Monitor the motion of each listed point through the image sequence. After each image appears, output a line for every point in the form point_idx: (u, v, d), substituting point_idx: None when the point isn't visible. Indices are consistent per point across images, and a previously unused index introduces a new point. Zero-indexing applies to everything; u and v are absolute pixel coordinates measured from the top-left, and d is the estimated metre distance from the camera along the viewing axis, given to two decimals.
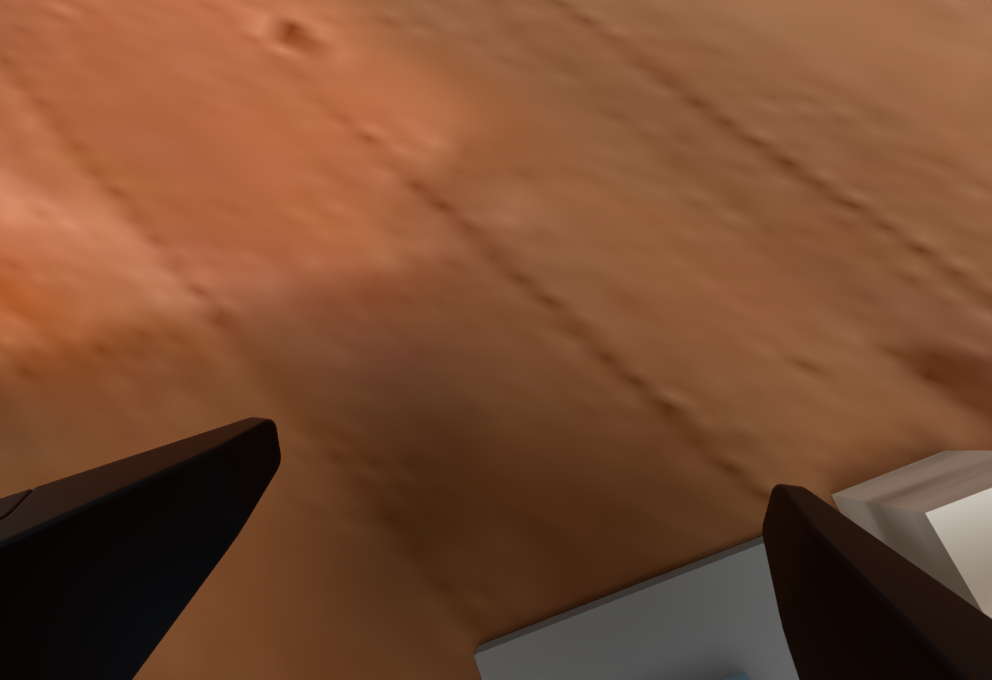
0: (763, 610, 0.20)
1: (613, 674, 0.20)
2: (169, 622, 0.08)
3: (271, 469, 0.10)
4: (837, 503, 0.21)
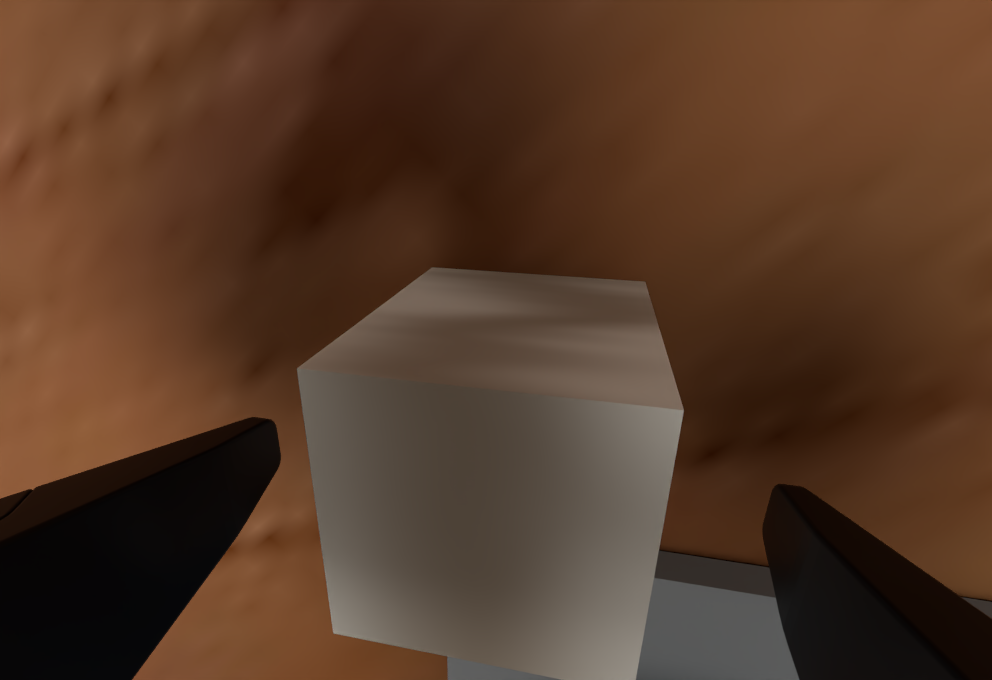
0: None
1: None
2: (169, 622, 0.08)
3: (271, 469, 0.10)
4: None
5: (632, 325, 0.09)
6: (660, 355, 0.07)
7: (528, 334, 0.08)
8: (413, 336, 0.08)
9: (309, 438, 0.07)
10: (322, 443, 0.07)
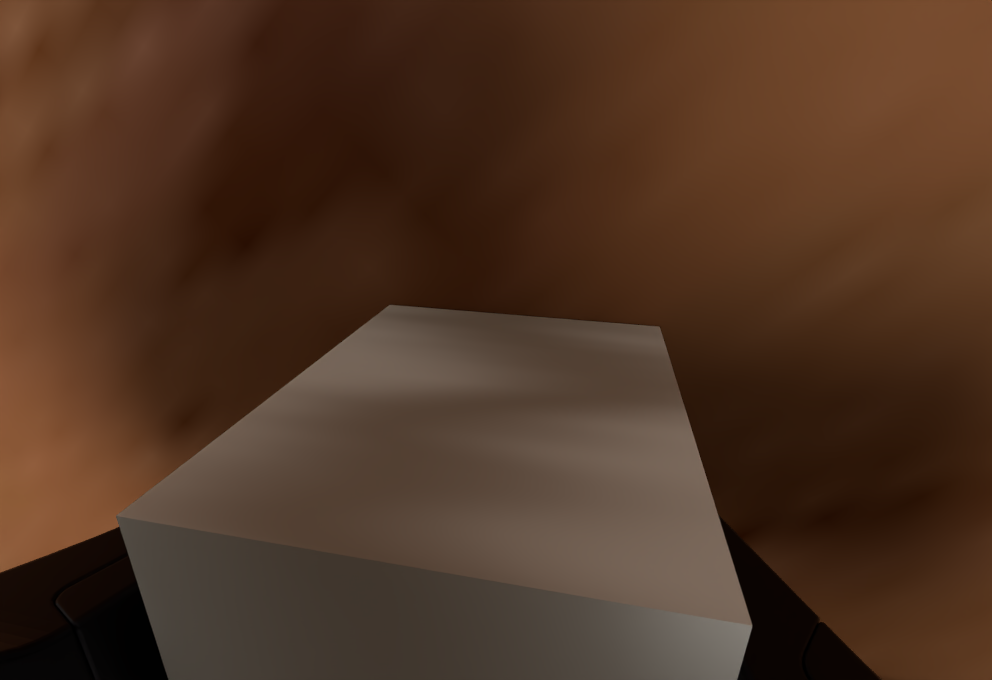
0: None
1: None
2: None
3: None
4: None
5: (648, 410, 0.06)
6: (696, 475, 0.05)
7: (497, 431, 0.06)
8: (326, 437, 0.05)
9: (150, 614, 0.05)
10: (171, 621, 0.05)
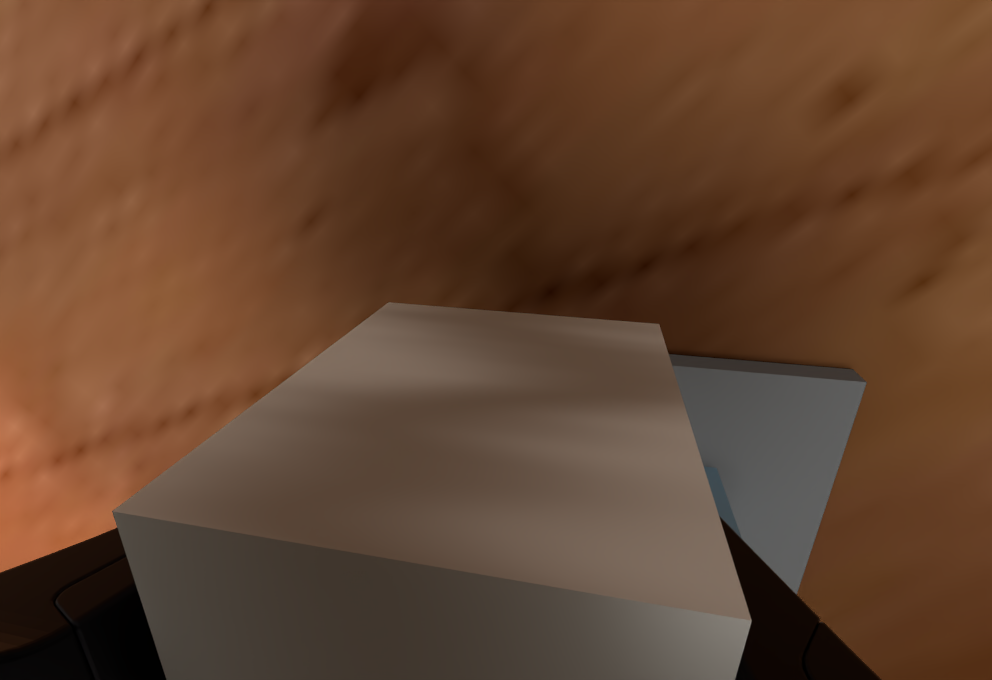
0: None
1: None
2: None
3: None
4: None
5: (648, 405, 0.06)
6: (694, 472, 0.05)
7: (496, 427, 0.06)
8: (324, 433, 0.05)
9: (146, 610, 0.05)
10: (167, 617, 0.05)
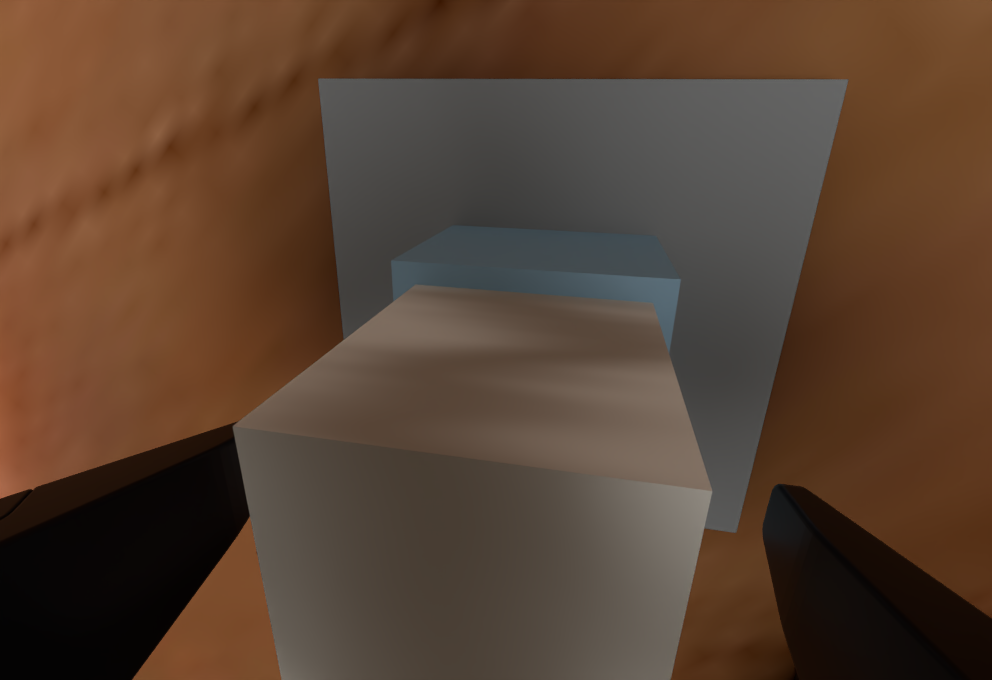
0: (396, 166, 0.15)
1: None
2: (169, 622, 0.08)
3: None
4: None
5: (641, 362, 0.07)
6: (678, 405, 0.06)
7: (519, 375, 0.07)
8: (381, 378, 0.07)
9: (251, 507, 0.06)
10: (267, 513, 0.06)
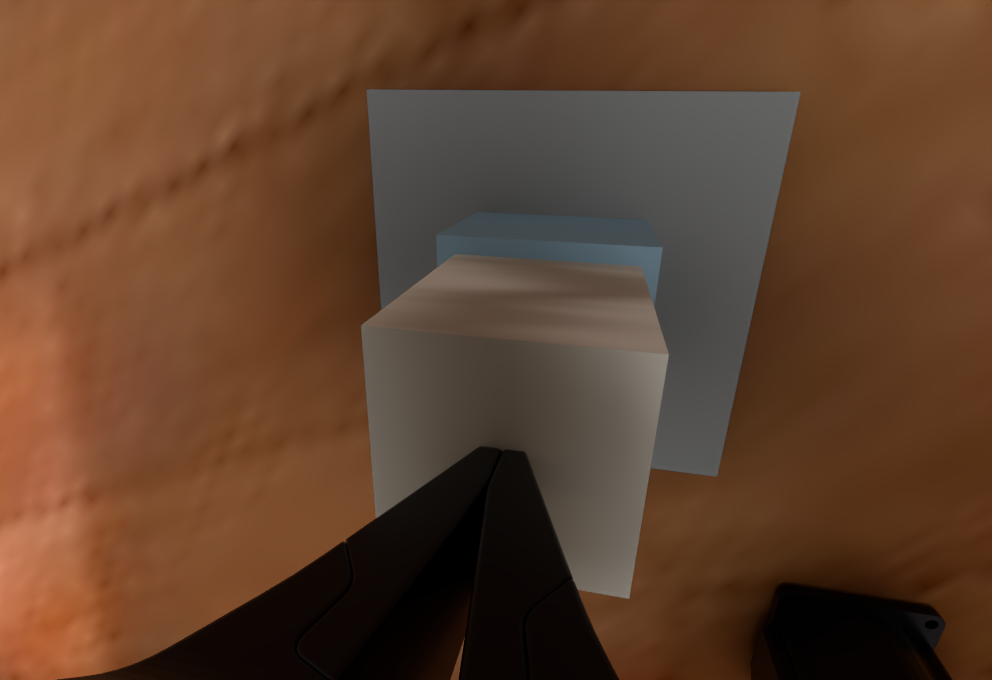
0: (430, 162, 0.18)
1: None
2: None
3: None
4: None
5: (629, 298, 0.10)
6: (652, 319, 0.09)
7: (544, 304, 0.10)
8: (449, 305, 0.10)
9: (368, 383, 0.09)
10: (378, 388, 0.09)
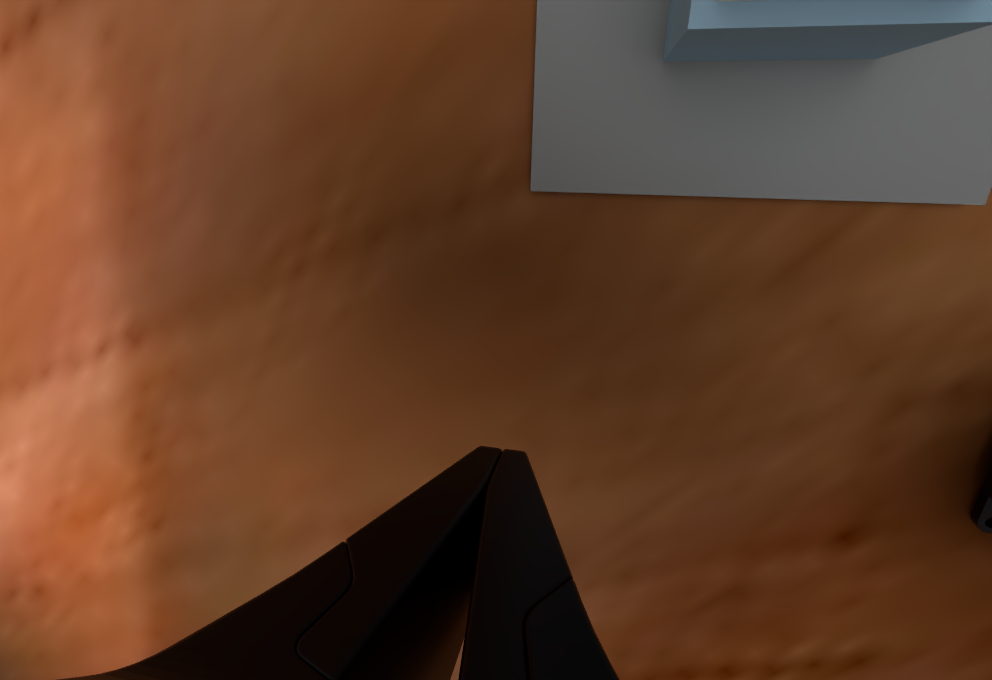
0: None
1: (616, 18, 0.16)
2: None
3: None
4: None
5: None
6: None
7: None
8: None
9: None
10: None
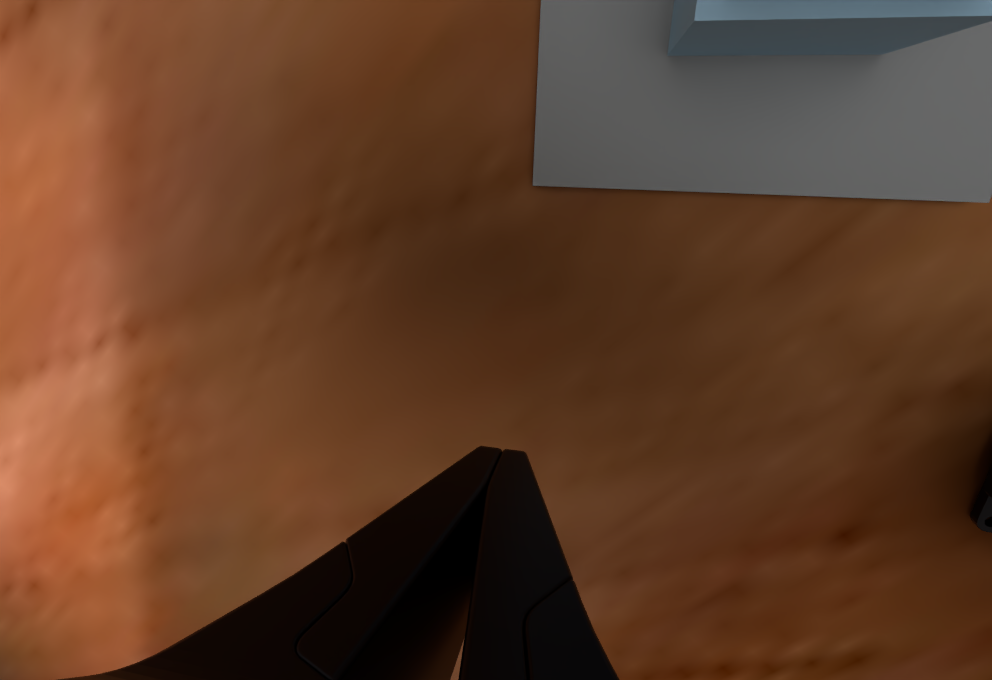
0: None
1: (621, 12, 0.16)
2: None
3: None
4: None
5: None
6: None
7: None
8: None
9: None
10: None
